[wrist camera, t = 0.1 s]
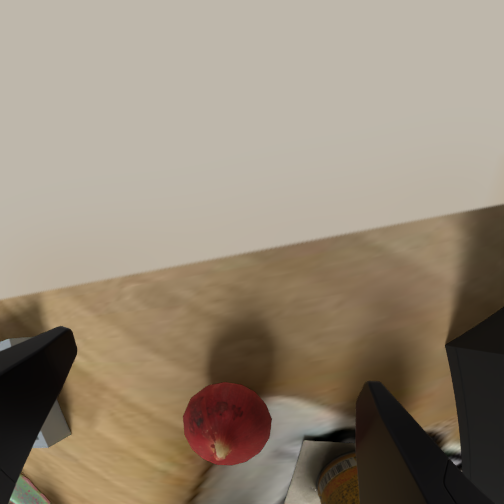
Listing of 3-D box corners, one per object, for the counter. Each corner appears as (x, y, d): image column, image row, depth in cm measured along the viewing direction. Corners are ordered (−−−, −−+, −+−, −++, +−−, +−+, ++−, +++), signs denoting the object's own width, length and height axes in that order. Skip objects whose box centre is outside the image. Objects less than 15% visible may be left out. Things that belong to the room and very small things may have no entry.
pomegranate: (181, 401, 22) (145, 439, 14) (234, 357, 22) (219, 383, 15) (230, 450, 21) (217, 504, 13) (285, 410, 22) (294, 455, 14)
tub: (71, 434, 21) (48, 447, 17) (15, 437, 21) (-7, 446, 17) (36, 336, 23) (9, 338, 19) (-14, 354, 23) (-38, 356, 19)
